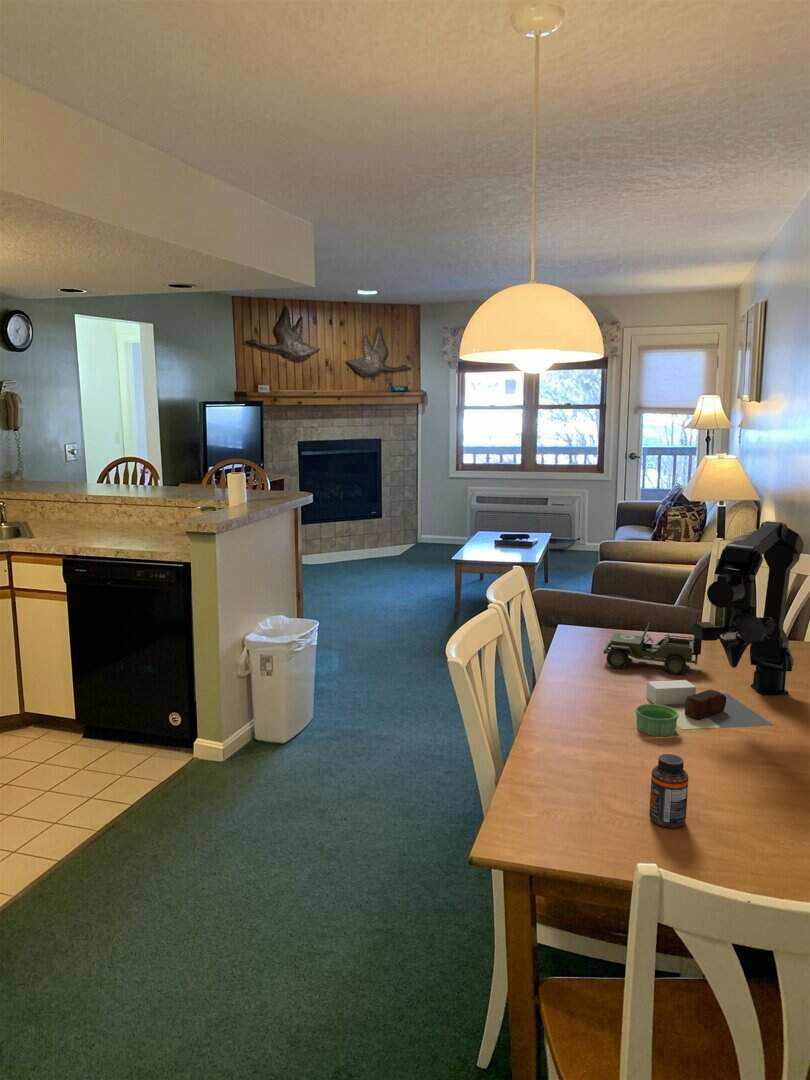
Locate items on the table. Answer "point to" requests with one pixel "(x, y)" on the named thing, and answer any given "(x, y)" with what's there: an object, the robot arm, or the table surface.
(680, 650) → the toy jeep
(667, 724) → the ramekin
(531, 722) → the table surface
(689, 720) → the grey mat
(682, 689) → the block
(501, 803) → the table surface
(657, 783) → the supplement bottle
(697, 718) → the brick
